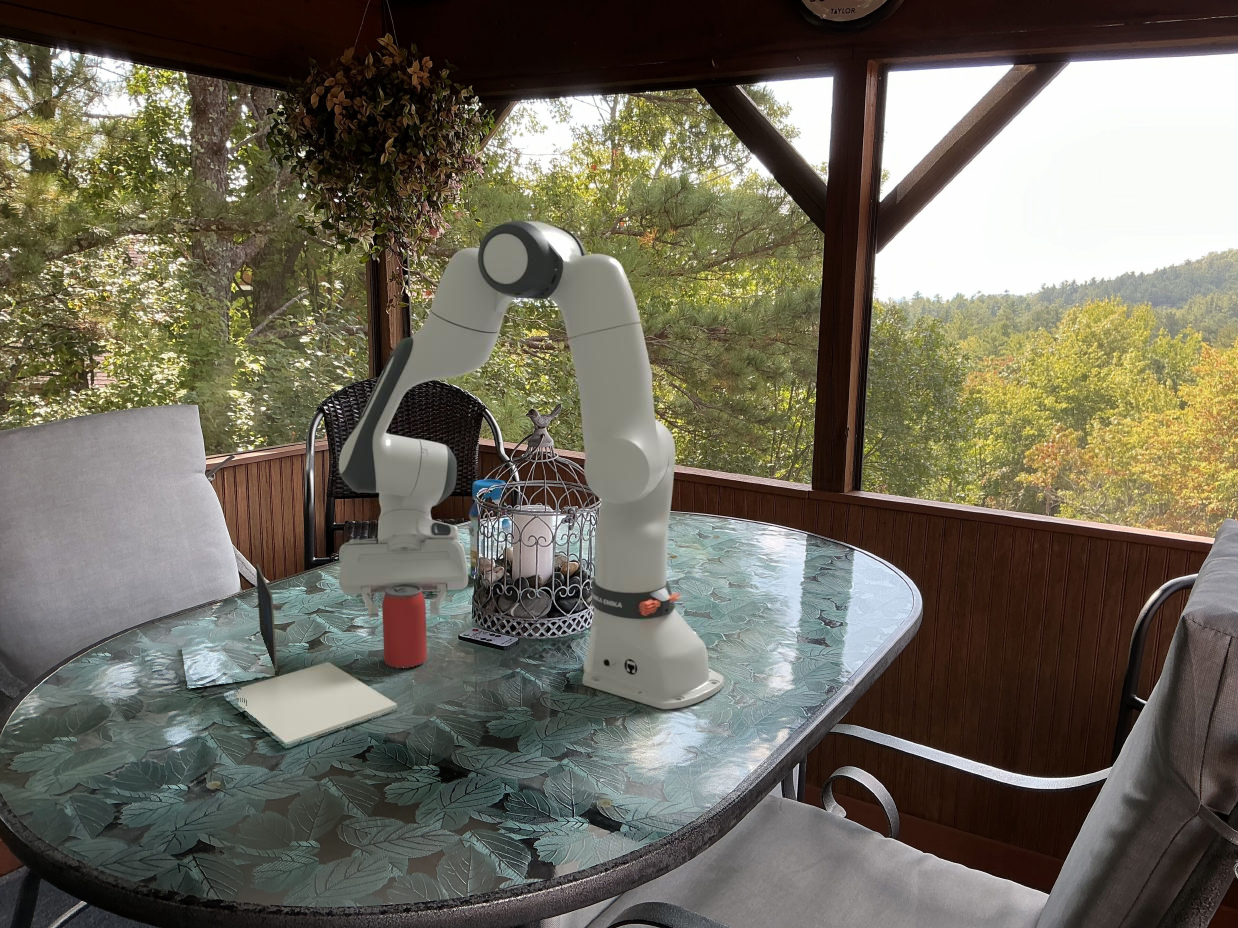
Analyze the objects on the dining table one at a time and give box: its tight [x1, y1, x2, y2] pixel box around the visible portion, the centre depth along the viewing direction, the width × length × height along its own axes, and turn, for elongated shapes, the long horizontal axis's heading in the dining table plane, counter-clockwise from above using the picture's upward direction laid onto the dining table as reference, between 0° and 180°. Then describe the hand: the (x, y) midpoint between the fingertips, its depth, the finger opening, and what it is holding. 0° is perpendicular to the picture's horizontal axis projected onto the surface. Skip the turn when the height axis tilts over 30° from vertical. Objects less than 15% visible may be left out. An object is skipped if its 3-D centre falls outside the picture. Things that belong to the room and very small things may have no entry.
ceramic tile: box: [226, 661, 398, 745], centre depth 126 cm, size 20×16×1 cm
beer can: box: [381, 584, 428, 669], centre depth 141 cm, size 7×7×12 cm
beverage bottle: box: [468, 478, 512, 579], centre depth 183 cm, size 8×8×20 cm
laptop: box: [255, 563, 278, 672], centre depth 140 cm, size 18×12×13 cm
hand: (404, 614), depth 141 cm, fingers open, 8 cm apart
